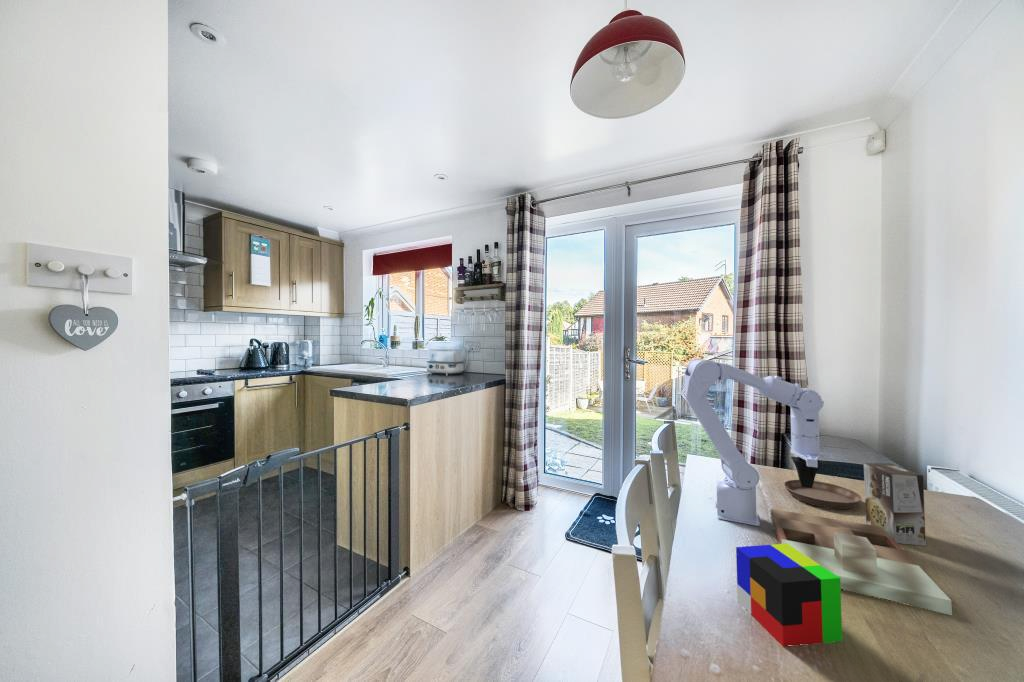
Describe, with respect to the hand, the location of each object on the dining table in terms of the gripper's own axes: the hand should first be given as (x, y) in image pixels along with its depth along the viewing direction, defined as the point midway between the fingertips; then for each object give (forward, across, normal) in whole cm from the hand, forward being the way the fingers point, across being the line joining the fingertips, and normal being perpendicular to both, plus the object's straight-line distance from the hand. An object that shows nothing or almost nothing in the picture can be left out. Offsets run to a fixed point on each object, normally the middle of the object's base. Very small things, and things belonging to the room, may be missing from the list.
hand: (806, 486), depth 94 cm
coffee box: (+10, +2, -17) cm, 20 cm away
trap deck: (+9, -15, -3) cm, 18 cm away
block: (+7, -24, -3) cm, 25 cm away
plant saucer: (+10, +20, -7) cm, 23 cm away
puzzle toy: (+10, -43, +11) cm, 45 cm away
